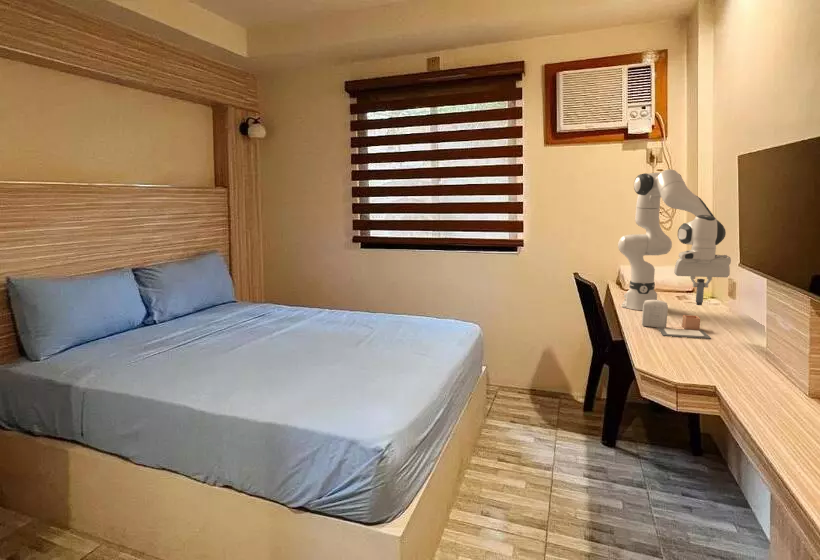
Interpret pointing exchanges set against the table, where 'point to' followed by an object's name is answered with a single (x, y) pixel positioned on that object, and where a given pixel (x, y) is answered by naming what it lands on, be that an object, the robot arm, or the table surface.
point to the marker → (700, 291)
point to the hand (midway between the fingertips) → (700, 287)
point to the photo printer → (655, 313)
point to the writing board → (684, 333)
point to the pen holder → (691, 322)
